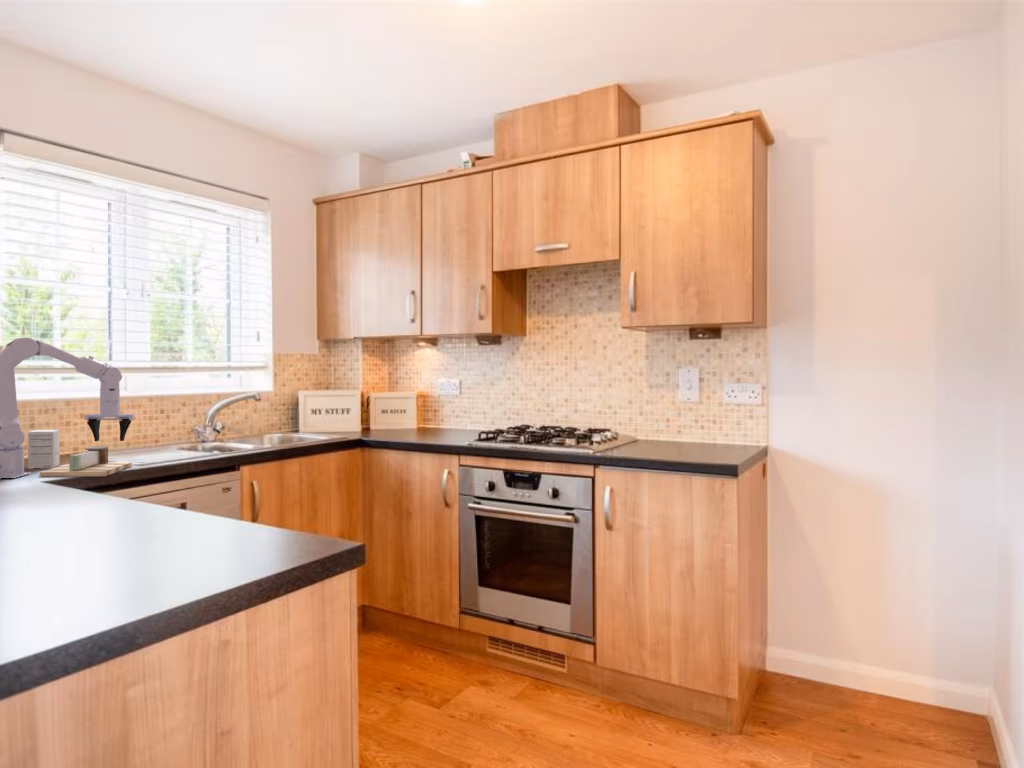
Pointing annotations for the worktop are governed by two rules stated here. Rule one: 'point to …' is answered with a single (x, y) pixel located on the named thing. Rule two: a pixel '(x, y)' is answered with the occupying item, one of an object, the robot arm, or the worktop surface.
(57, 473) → the tong board
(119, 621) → the worktop surface
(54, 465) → the supplement box
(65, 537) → the worktop surface
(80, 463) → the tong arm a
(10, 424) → the robot arm
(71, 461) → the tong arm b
